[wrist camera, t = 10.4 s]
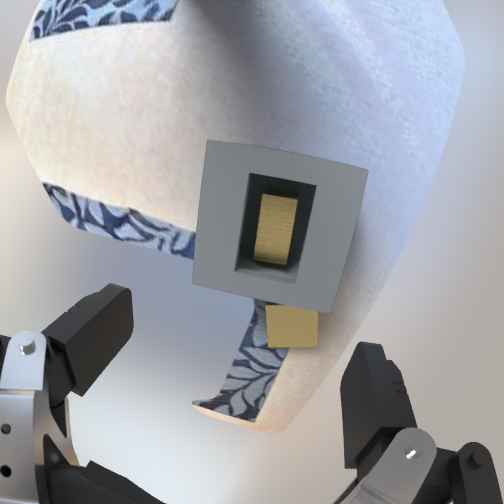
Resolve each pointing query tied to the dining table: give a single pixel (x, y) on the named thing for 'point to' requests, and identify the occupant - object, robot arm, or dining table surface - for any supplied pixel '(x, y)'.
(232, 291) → the grey hollow block
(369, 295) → the dining table surface
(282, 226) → the gold flat square block
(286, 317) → the block
